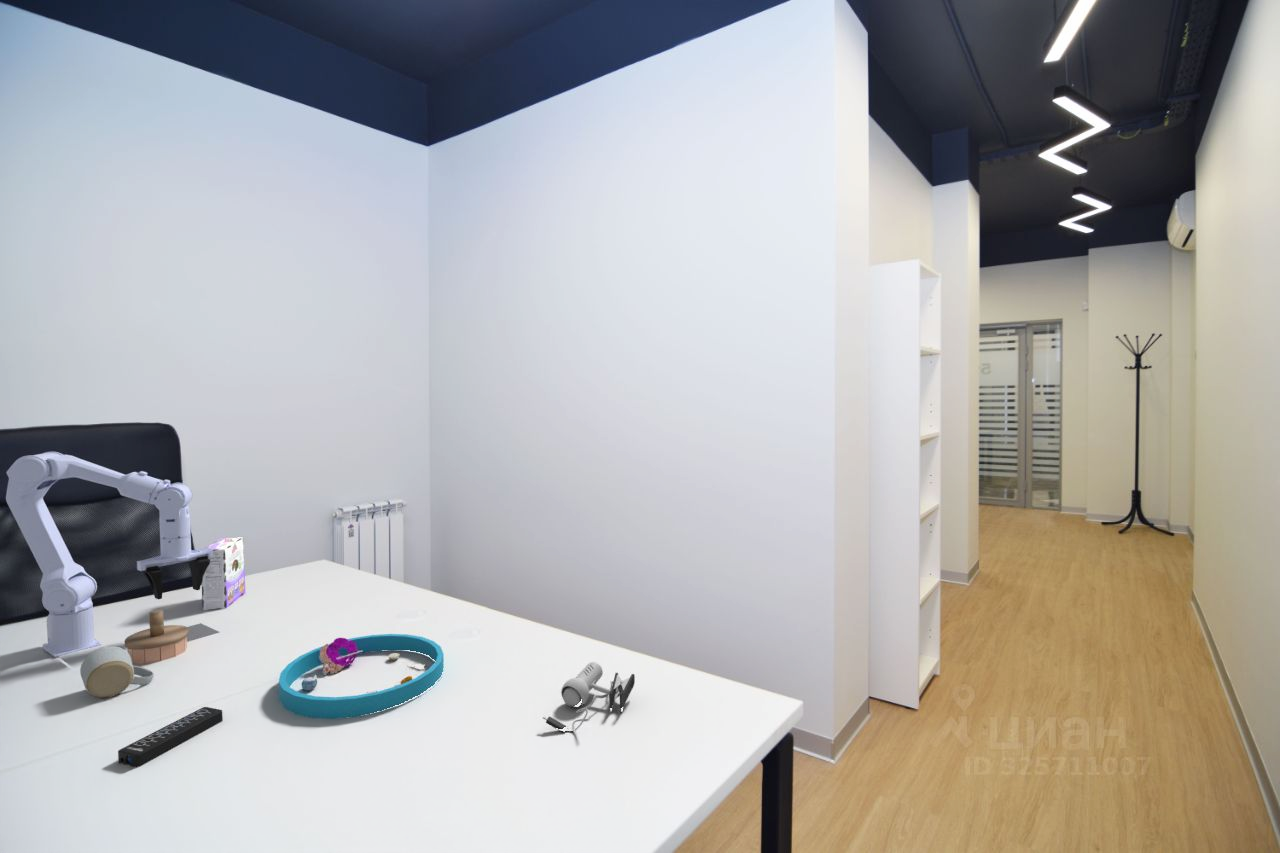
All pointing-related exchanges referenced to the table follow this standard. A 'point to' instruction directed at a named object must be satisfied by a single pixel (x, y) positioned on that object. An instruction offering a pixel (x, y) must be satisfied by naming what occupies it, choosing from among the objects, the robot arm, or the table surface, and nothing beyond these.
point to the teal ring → (338, 657)
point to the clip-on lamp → (584, 683)
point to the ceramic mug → (111, 672)
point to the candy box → (224, 574)
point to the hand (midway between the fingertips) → (177, 593)
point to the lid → (156, 634)
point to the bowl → (158, 652)
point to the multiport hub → (169, 737)
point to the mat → (199, 631)
